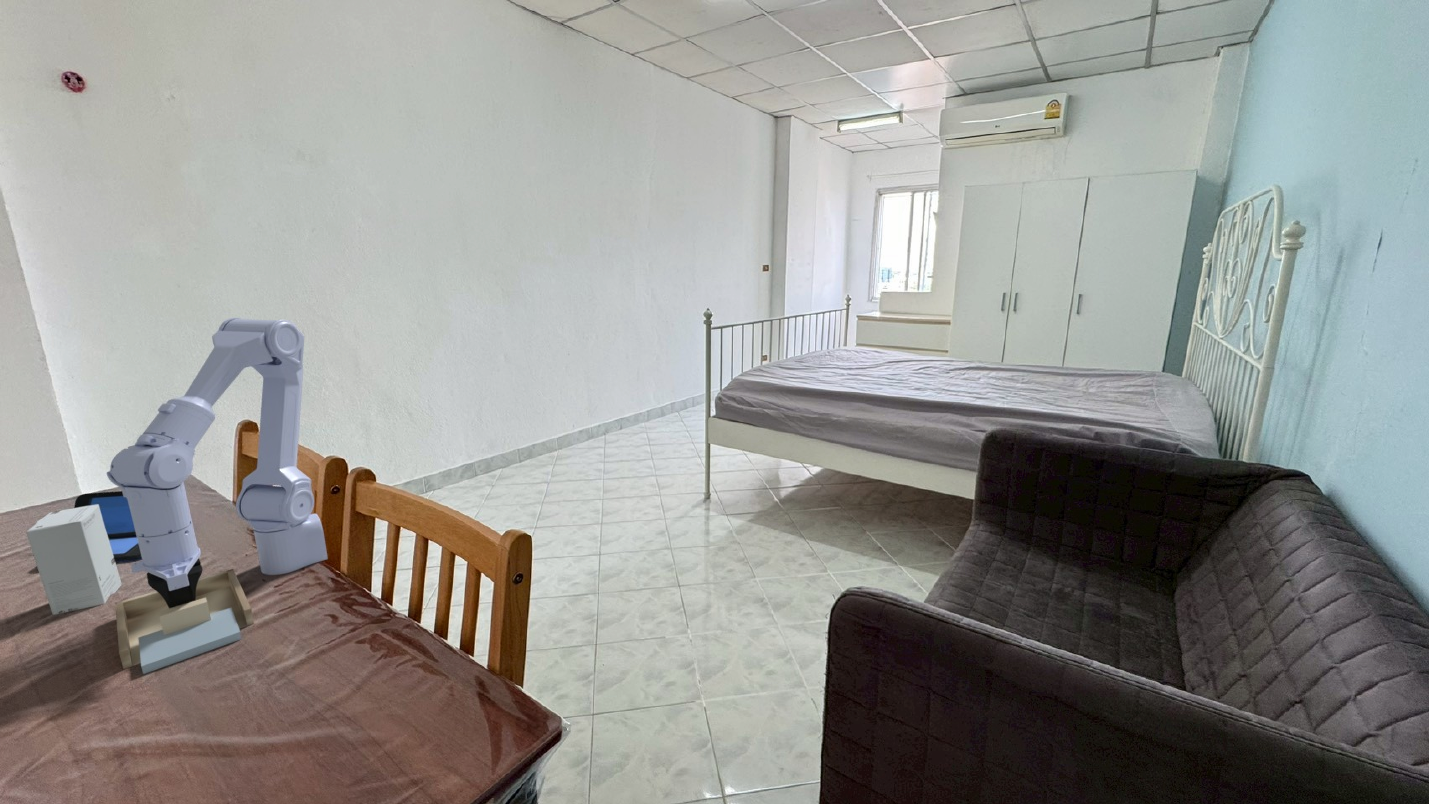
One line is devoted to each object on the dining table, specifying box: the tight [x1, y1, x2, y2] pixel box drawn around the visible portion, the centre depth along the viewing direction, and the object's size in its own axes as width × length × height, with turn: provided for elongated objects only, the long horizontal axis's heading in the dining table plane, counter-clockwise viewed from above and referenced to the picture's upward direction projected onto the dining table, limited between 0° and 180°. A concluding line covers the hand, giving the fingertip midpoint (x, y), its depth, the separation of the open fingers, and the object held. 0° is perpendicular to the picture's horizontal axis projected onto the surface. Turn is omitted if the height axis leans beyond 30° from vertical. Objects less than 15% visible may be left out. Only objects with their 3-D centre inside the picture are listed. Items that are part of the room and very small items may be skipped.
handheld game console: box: [35, 490, 142, 566], centre depth 105 cm, size 16×13×9 cm
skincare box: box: [25, 504, 122, 616], centre depth 88 cm, size 8×6×15 cm
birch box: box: [114, 568, 255, 670], centre depth 84 cm, size 14×16×4 cm
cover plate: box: [138, 598, 243, 675], centre depth 79 cm, size 10×8×4 cm
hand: (184, 612), depth 82 cm, fingers closed
